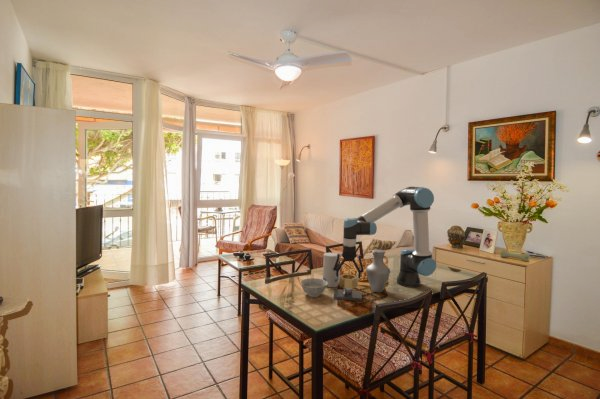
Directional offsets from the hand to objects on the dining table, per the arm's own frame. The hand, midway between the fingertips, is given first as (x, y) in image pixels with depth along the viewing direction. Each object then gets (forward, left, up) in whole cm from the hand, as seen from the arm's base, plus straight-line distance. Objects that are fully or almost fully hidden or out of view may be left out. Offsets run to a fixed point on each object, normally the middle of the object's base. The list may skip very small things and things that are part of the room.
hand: (348, 282), depth 192 cm
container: (+11, -18, -8) cm, 23 cm away
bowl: (+20, +2, -8) cm, 22 cm away
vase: (-18, -13, -8) cm, 24 cm away
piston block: (0, 0, -8) cm, 8 cm away
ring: (0, 0, -1) cm, 1 cm away
